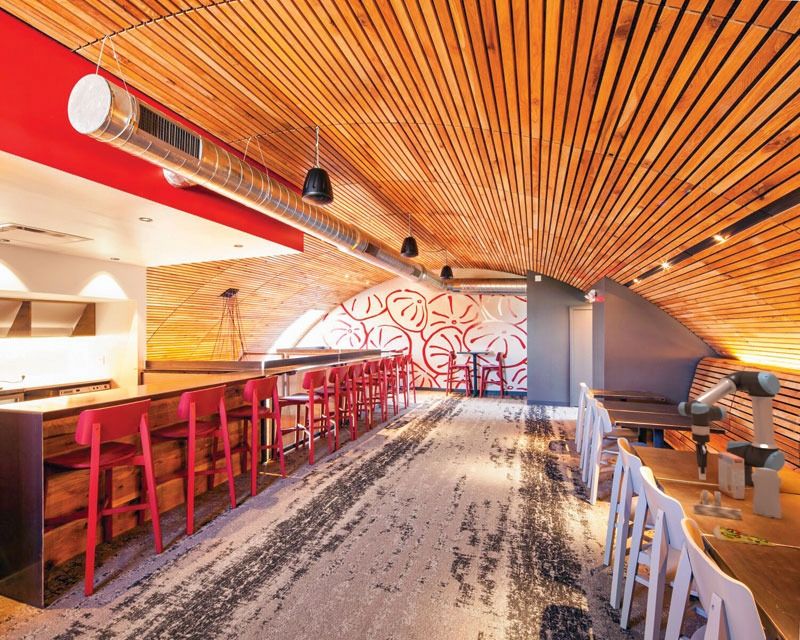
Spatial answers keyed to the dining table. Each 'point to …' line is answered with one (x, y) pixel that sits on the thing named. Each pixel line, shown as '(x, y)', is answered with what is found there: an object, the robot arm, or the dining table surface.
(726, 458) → the cracker box
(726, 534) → the pizza slice
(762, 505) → the tall pale column
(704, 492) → the pin
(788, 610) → the dining table surface
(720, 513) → the back wall
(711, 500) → the ball
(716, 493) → the pin
